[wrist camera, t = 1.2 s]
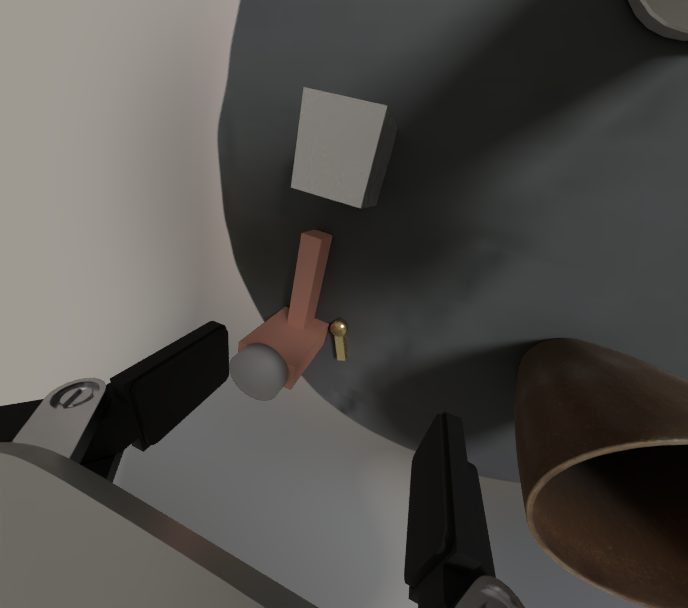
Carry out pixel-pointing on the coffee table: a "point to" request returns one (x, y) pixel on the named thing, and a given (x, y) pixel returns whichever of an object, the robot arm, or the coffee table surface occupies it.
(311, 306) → the brown mallet
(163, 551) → the robot arm
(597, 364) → the plant pot
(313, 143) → the block
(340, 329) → the brass key
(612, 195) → the coffee table surface
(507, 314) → the coffee table surface
